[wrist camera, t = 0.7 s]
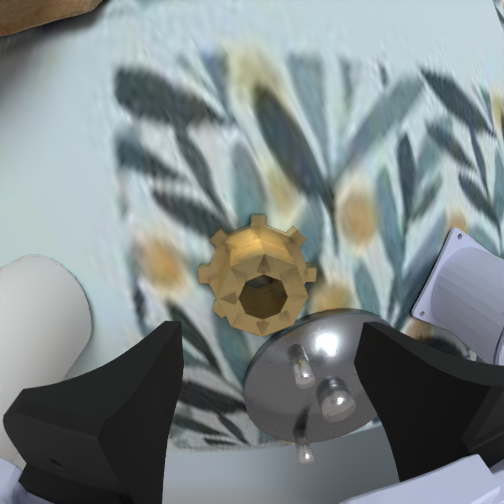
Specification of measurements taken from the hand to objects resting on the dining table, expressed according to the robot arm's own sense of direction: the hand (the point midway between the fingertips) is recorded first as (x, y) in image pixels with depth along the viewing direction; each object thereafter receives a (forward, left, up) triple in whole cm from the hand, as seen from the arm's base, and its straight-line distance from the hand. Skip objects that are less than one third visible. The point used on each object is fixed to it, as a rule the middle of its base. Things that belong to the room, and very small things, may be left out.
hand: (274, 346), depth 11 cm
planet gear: (0, 0, -9) cm, 9 cm away
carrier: (-10, +7, -9) cm, 15 cm away
